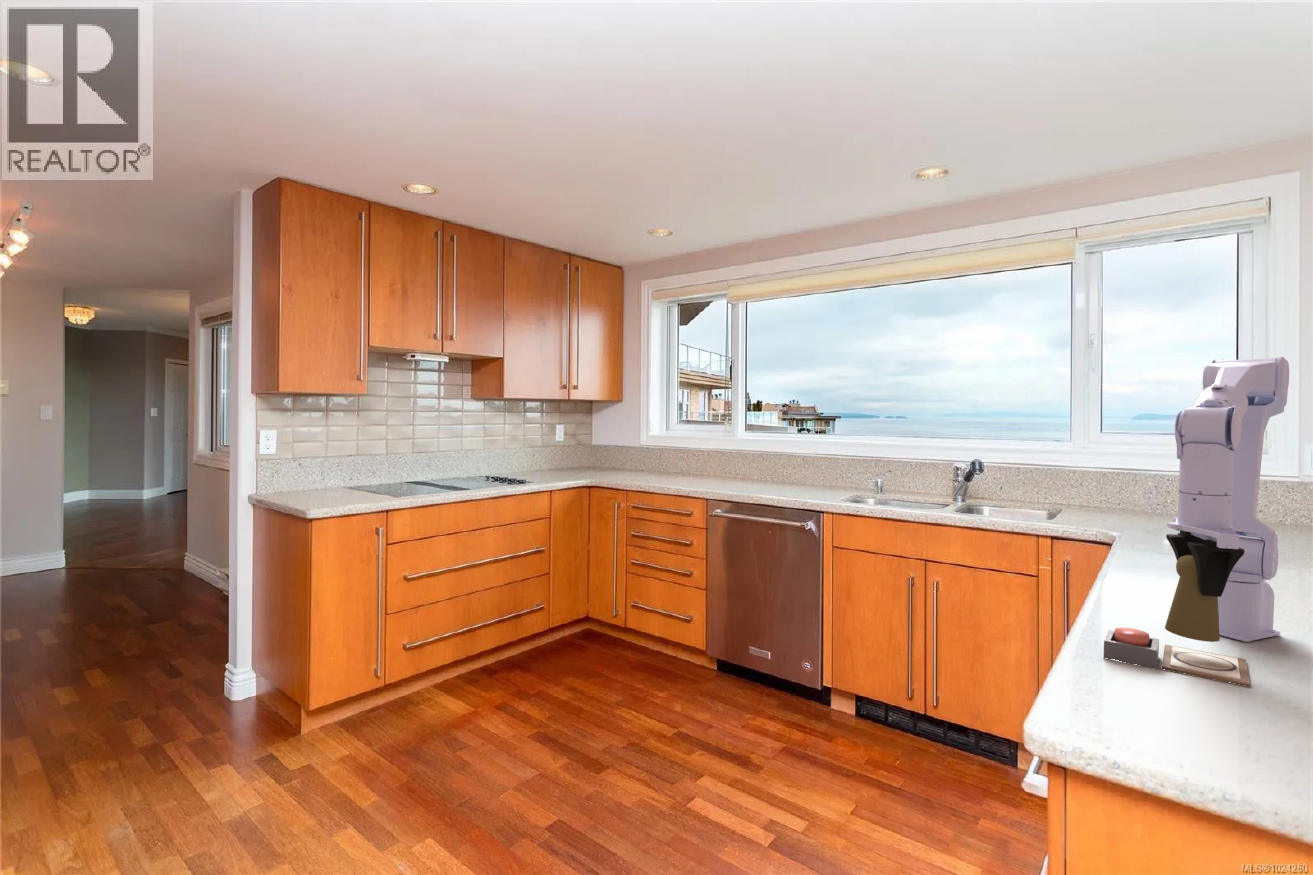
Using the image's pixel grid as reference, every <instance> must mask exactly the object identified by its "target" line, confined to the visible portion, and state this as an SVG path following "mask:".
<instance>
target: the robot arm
mask: <svg viewBox="0 0 1313 875" xmlns="http://www.w3.org/2000/svg"><path fill="white" fill-rule="evenodd" d="M1289 384H1290V363H1289V361H1288V360H1287V359H1286V358H1285V357H1283V356H1278V357H1273V358H1272V357H1270V358H1269V357H1268V358H1249V359H1248V358H1246V359H1225V360H1224V359H1223V360H1215V359H1210V360H1209V361H1208V362H1206V363H1205V365H1204V367H1203V371H1202V389H1203V390H1202V391H1201V393H1200V394H1199V396H1198V397H1197V399H1195V401H1194V403H1193V404H1192V406H1191V407H1186V408H1185V409H1184V410H1183V411H1181V410H1179V411H1178V412H1177V414H1176V417H1175V421H1174V437H1175V444H1176V459H1177V460H1179V471H1178V472H1179V473H1178V474H1179V476H1178V477H1179V478H1178V480H1179V481H1178V503H1177V504H1178V505H1177V516H1173V518H1172V519H1173V520H1172V521H1171V522H1169V521H1168V522H1167V528H1169V529H1172V530H1175V531H1179V532H1178V533H1177V534H1176V533H1174V534H1173V533H1166V535H1165V537H1166V538H1165V539H1166V540H1167V541H1168V543H1169V545H1170V547H1171V548H1172V551H1173V553H1174V556H1175V559H1176V562H1177V561H1178V559H1179V558H1180V557H1181V556H1184V555H1193V557H1194V560H1195V564H1196V568H1197V576H1198V585H1199V590H1200V593H1201V595H1204V596H1215V597H1218V611H1219V634H1220V636H1223V637H1226V638H1230V639H1234V640H1237V641H1241V642H1245V643H1246V642H1247V643H1248V642H1253V641H1257V640H1261V639H1266V638H1270V637H1275V636H1279V635H1280V636H1281V631H1279V630H1275V629H1274V613H1275V593H1274V590H1273V588H1272V586H1271V585H1270V584H1269V582H1267V581H1271V580H1273V579H1274V578H1275V577H1276V575H1277V571H1278V565H1279V564H1278V563H1279V546H1278V544H1279V542H1278V541H1279V537H1278V534H1276V531H1275V530H1274V529H1273V528H1272V527H1271V526H1269V525H1267V524H1266V523H1265V522H1263V521H1262V520H1260V519H1259V518H1258V517H1257V508H1258V500H1259V489H1260V480H1261V469H1262V458H1263V447H1264V437H1265V432H1266V428H1267V425H1268V423H1269V421H1270V419H1271V418H1272V417H1275V416H1278V415H1279V414H1282V413H1285V412H1284V411H1285V407H1286V406H1287V403H1288V392H1289Z"/></svg>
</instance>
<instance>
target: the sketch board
mask: <svg viewBox="0 0 1313 875" xmlns="http://www.w3.org/2000/svg"><path fill="white" fill-rule="evenodd" d="M1163 669H1165V670H1164V671H1168V670H1170V671H1169V672H1173V671H1175V672H1174V673H1179V674H1183V673H1186V674H1185V675H1188V674H1190V675H1189V676H1192V675H1194V676H1193V677H1197V676H1198V678H1203V679H1207V678H1209V679H1208V680H1212V679H1215V680H1214V681H1217V680H1218V681H1217V682H1222V681H1223V682H1222V683H1227V682H1231V683H1230V684H1232V683H1235V684H1234V685H1237V684H1240V685H1239V686H1242V685H1246V686H1245V687H1247V686H1249V687H1248V688H1251V681H1250V676H1249V669H1248V666H1247V660H1246V659H1245V658H1242V657H1241V658H1240V657H1234V656H1229V655H1223V654H1217V653H1213V652H1208V651H1207V652H1206V651H1202V650H1195V649H1191V648H1186V647H1180V646H1175V645H1169V644H1164V649H1163V656H1162V662H1161V670H1163Z"/></svg>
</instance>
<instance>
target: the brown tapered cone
mask: <svg viewBox="0 0 1313 875" xmlns="http://www.w3.org/2000/svg"><path fill="white" fill-rule="evenodd" d="M1175 570H1176V573H1177V575H1178V576H1179V579H1178V583H1177V585H1176V588H1175V592H1174V595H1173V598H1172V602H1171V605H1170V608H1169V612H1168V615H1167V619H1166V623H1165V626H1164V629H1165V630H1166V631H1168V632H1169V633H1172V634H1173V635H1175V636H1179V637H1182V638H1186V639H1189V640H1194V641H1201V642H1210V643H1215V642H1216V643H1217V642H1220V639H1221V638H1220V636H1221V635H1220V634H1219V611H1218V597H1215V596H1204V595H1201V593H1200V590H1199V585H1198V576H1197V568H1196V564H1195V560H1194V557H1193V555H1184V556H1181V557H1180V558H1179V559H1178V561H1177V560H1176V565H1175Z"/></svg>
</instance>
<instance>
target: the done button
mask: <svg viewBox="0 0 1313 875" xmlns="http://www.w3.org/2000/svg"><path fill="white" fill-rule="evenodd" d="M1114 631H1115V641H1116V642H1121V643H1127V644H1132V645H1137V646H1143V647H1149V637H1150V634H1149V633H1148V632H1146V631H1143V630H1141V629H1135V628H1131V627H1116V628H1115V629H1114Z"/></svg>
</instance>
